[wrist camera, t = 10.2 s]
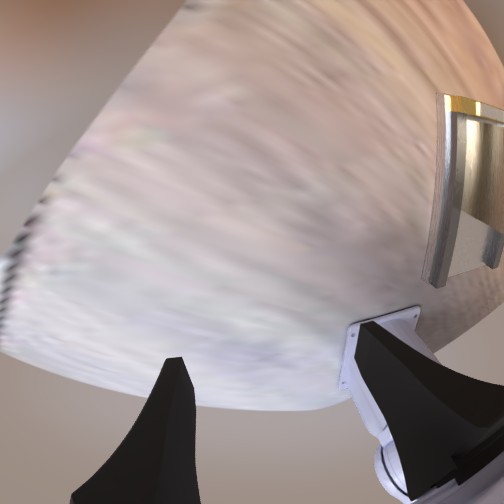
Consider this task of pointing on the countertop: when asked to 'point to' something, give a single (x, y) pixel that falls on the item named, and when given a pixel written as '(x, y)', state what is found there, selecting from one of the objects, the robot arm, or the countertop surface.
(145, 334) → the countertop surface
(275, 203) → the countertop surface
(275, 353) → the countertop surface
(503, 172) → the tan notched block
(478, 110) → the silver channel bracket
